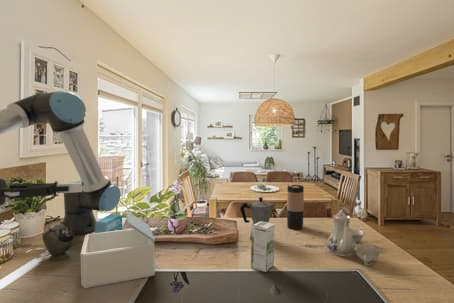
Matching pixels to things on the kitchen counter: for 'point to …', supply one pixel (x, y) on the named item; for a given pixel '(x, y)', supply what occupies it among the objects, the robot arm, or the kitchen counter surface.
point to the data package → (109, 224)
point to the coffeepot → (258, 212)
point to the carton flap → (139, 225)
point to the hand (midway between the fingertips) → (81, 187)
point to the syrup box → (262, 246)
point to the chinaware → (350, 241)
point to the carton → (116, 257)
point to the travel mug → (295, 207)
